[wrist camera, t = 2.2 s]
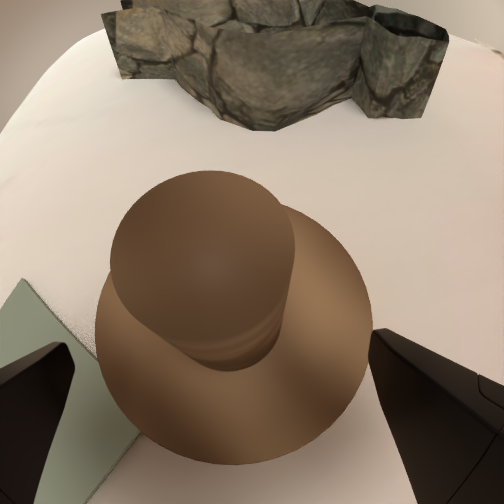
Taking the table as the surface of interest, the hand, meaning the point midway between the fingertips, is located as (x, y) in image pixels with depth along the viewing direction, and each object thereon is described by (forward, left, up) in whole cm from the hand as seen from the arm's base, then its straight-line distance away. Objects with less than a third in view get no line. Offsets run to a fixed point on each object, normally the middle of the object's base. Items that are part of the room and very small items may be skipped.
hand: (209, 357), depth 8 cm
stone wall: (+26, +15, -11) cm, 32 cm away
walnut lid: (+2, +2, -6) cm, 7 cm away
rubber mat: (-12, +11, -11) cm, 19 cm away
